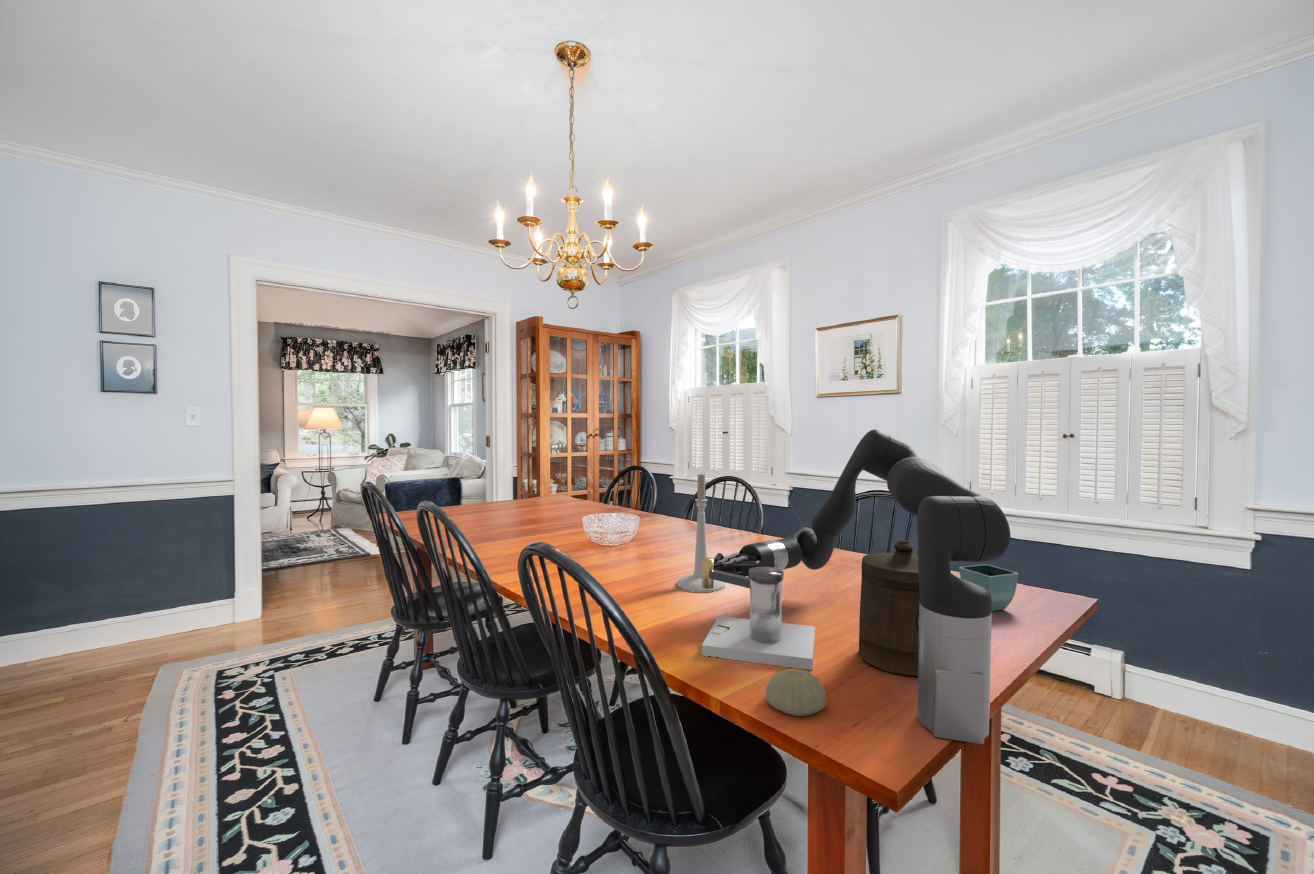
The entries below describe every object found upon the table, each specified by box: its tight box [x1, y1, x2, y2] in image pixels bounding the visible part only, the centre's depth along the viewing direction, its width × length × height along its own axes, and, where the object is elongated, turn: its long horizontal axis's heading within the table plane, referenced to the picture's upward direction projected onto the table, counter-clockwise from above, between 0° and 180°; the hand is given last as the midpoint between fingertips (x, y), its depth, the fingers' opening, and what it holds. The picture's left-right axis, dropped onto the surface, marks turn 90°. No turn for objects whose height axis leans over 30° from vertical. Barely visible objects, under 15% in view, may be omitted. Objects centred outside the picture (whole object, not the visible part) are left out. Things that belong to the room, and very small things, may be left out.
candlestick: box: [676, 473, 726, 593], centre depth 148 cm, size 13×13×30 cm
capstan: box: [702, 556, 785, 642], centre depth 112 cm, size 18×7×13 cm, turn 47°
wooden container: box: [858, 539, 920, 677], centre depth 103 cm, size 15×15×22 cm
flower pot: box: [958, 563, 1019, 612], centre depth 131 cm, size 9×9×9 cm
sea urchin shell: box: [765, 668, 828, 718], centre depth 87 cm, size 9×8×8 cm
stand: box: [701, 615, 816, 671], centre depth 109 cm, size 16×20×2 cm
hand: (707, 571), depth 119 cm, fingers closed
